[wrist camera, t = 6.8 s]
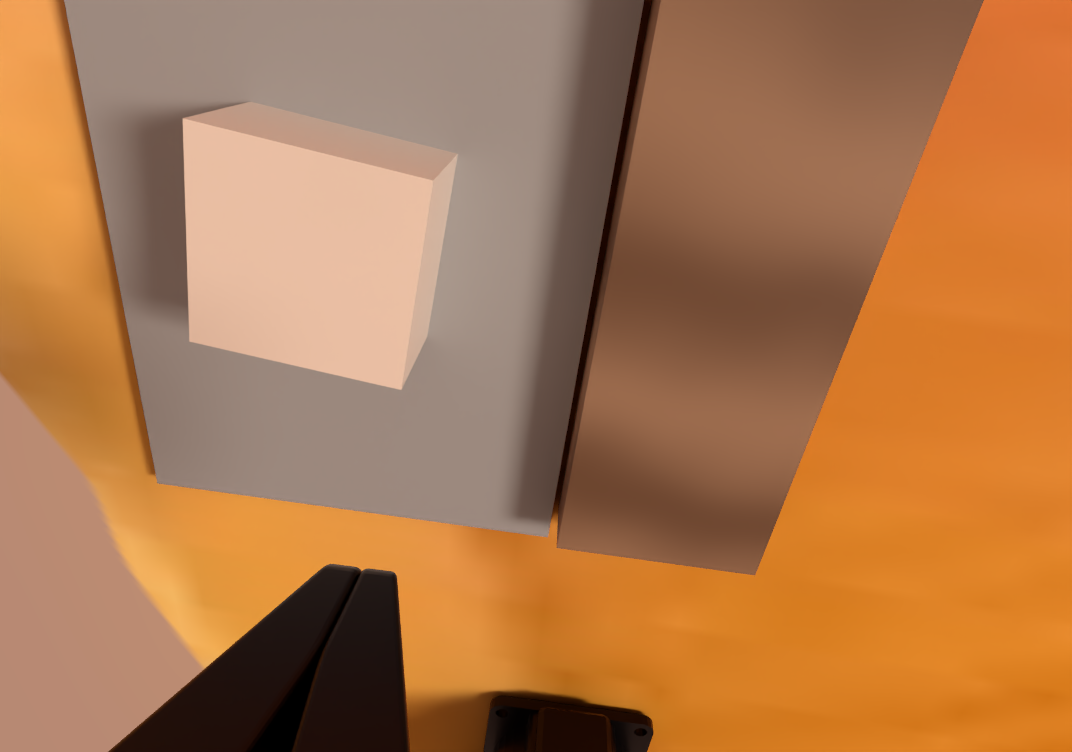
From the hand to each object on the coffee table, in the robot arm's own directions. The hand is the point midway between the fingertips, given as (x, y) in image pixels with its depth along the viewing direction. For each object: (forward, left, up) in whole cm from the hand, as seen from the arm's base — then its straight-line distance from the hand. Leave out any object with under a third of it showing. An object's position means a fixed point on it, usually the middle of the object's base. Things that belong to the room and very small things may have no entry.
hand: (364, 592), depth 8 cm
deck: (+1, -6, -11) cm, 13 cm away
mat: (+1, +4, -11) cm, 12 cm away
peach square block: (+1, +4, -11) cm, 11 cm away
